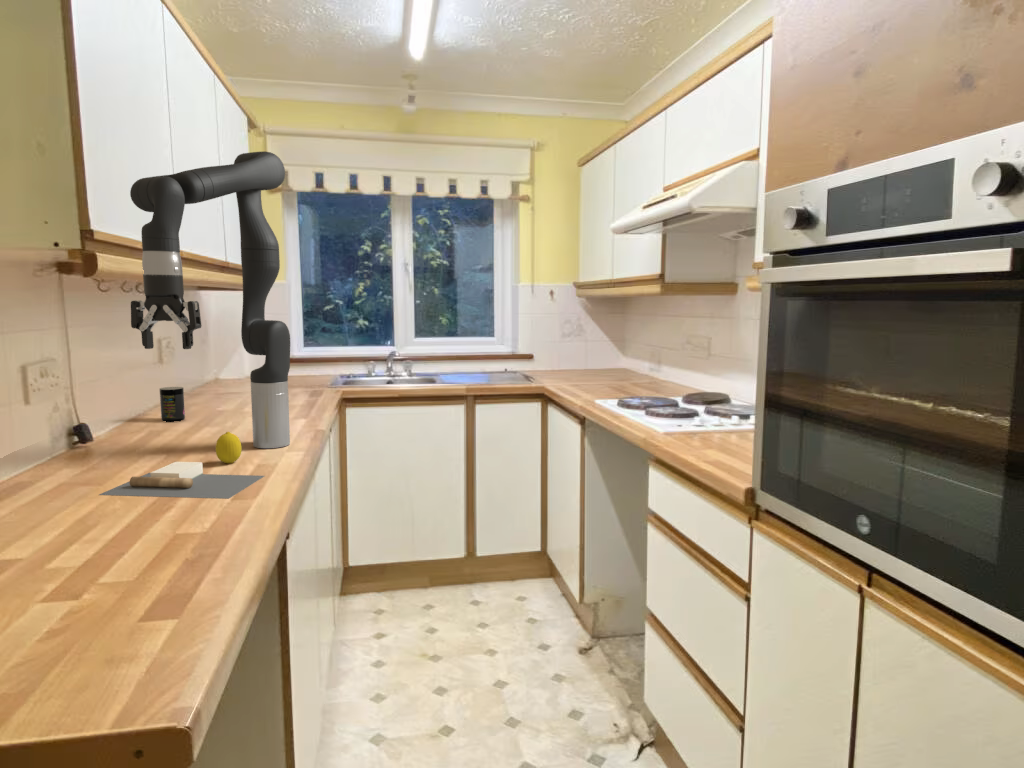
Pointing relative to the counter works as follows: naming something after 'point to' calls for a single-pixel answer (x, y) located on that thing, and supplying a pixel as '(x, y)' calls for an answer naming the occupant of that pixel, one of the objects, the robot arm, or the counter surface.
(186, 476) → the tile
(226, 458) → the lemon
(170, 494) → the mat
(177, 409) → the supplement container
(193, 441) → the counter surface
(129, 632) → the counter surface
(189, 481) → the dowel
